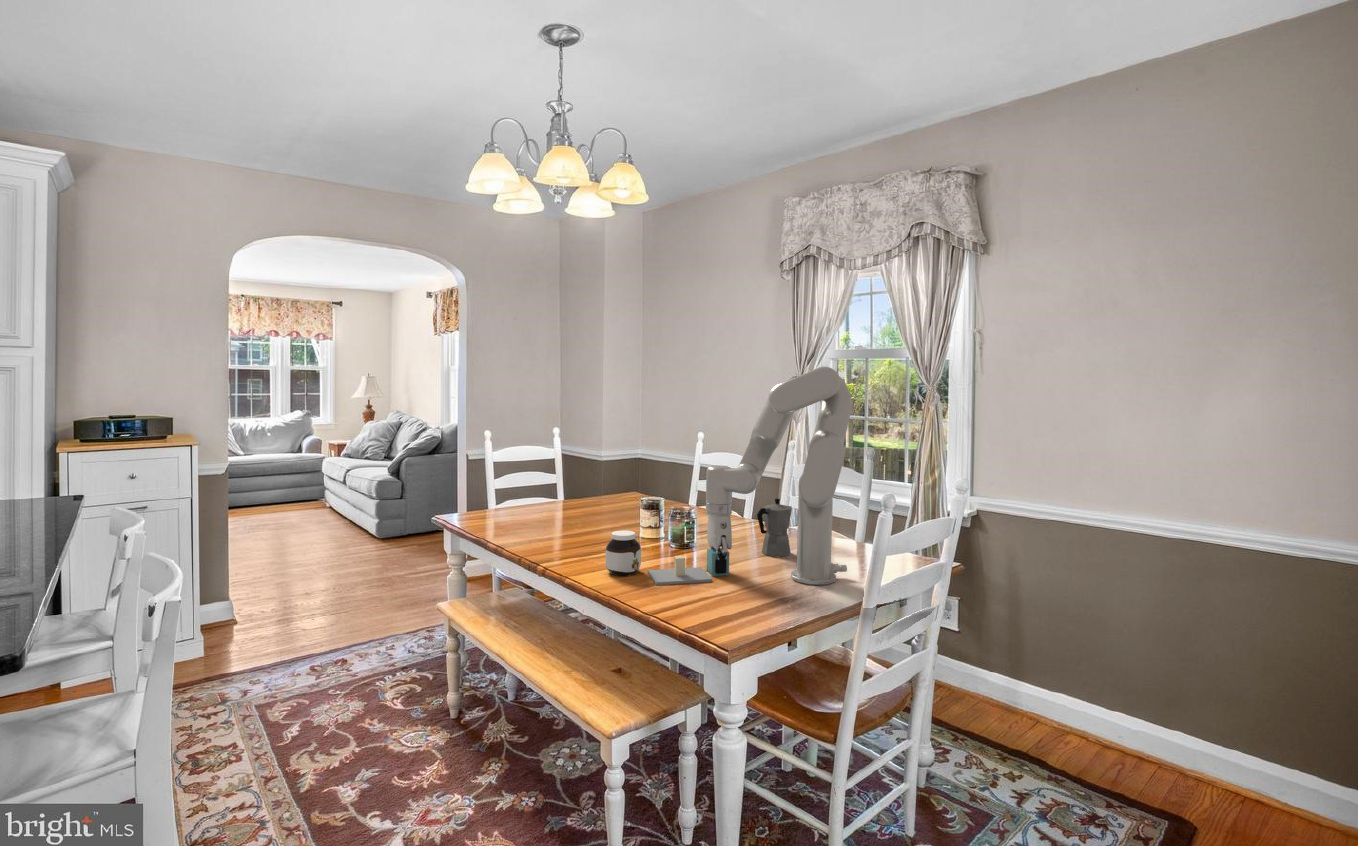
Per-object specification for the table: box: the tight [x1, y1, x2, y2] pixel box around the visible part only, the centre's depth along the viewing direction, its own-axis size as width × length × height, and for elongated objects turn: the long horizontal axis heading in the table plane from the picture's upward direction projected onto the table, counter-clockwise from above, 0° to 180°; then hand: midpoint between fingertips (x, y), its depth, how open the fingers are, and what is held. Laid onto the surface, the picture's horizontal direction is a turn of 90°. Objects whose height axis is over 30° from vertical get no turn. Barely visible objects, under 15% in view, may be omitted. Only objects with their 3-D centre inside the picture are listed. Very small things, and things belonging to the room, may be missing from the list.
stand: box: [647, 555, 713, 586], centre depth 199 cm, size 16×12×6 cm
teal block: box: [706, 547, 730, 577], centre depth 204 cm, size 5×5×7 cm
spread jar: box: [604, 530, 642, 577], centre depth 205 cm, size 12×11×12 cm
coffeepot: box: [756, 497, 793, 558], centre depth 226 cm, size 15×9×18 cm, turn 129°
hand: (717, 569), depth 204 cm, fingers closed on teal block, 5 cm apart
